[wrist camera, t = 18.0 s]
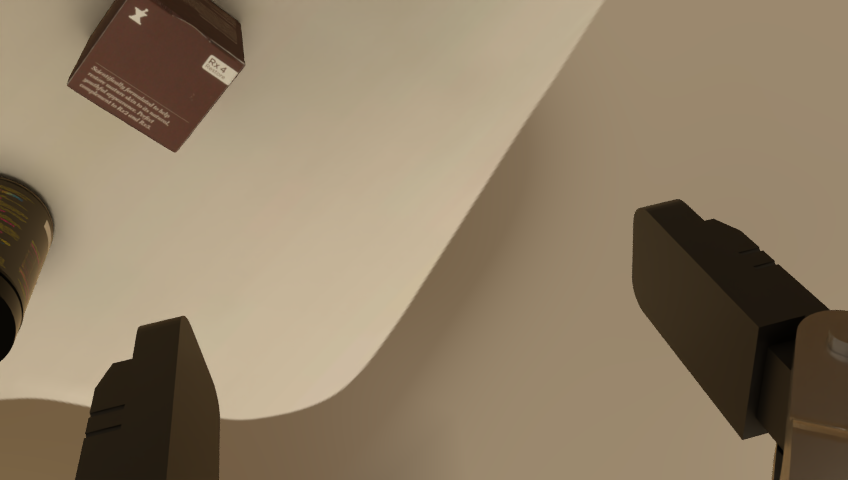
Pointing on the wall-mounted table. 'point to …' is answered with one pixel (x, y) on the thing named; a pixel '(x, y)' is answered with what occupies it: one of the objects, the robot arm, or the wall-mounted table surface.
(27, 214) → the supplement container
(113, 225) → the wall-mounted table surface
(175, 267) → the wall-mounted table surface
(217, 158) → the wall-mounted table surface
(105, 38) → the box
